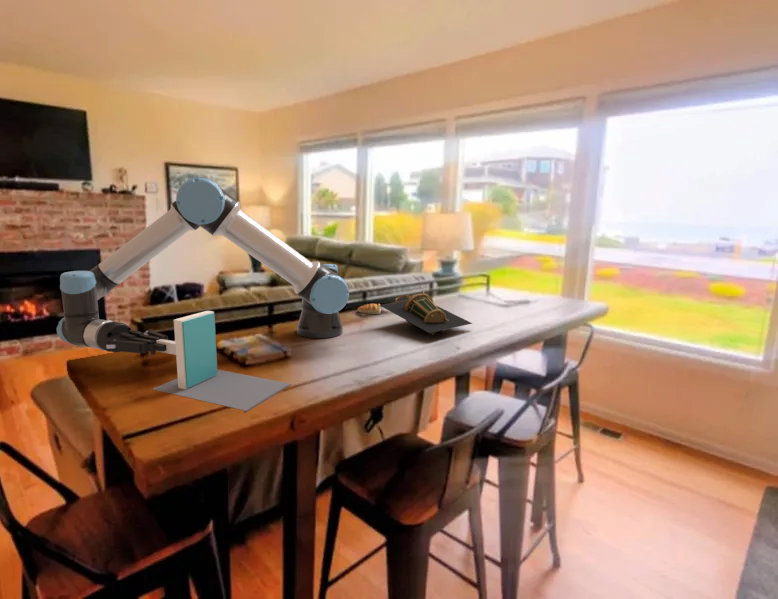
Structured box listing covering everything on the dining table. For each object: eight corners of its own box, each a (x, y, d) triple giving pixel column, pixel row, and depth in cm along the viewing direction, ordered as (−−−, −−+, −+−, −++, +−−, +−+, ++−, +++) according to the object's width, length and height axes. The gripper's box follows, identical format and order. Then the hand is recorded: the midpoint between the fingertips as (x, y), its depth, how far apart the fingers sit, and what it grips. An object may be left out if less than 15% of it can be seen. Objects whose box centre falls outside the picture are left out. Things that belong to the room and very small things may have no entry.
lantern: (422, 353, 146) (364, 312, 165) (464, 346, 163) (407, 309, 182) (435, 315, 142) (375, 277, 161) (477, 312, 159) (418, 278, 178)
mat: (152, 390, 103) (151, 389, 103) (204, 368, 117) (204, 366, 117) (245, 412, 94) (245, 410, 93) (290, 385, 108) (290, 383, 108)
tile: (178, 387, 104) (173, 319, 101) (210, 373, 113) (206, 310, 110) (186, 389, 103) (182, 321, 100) (218, 375, 112) (215, 311, 109)
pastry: (357, 314, 181) (357, 304, 180) (358, 310, 188) (358, 301, 187) (380, 314, 181) (381, 305, 180) (381, 311, 188) (381, 302, 187)
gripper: (133, 343, 123) (201, 355, 115) (86, 357, 111) (157, 372, 103) (130, 316, 122) (199, 327, 113) (82, 327, 110) (155, 340, 101)
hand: (179, 348), depth 108 cm, fingers closed
